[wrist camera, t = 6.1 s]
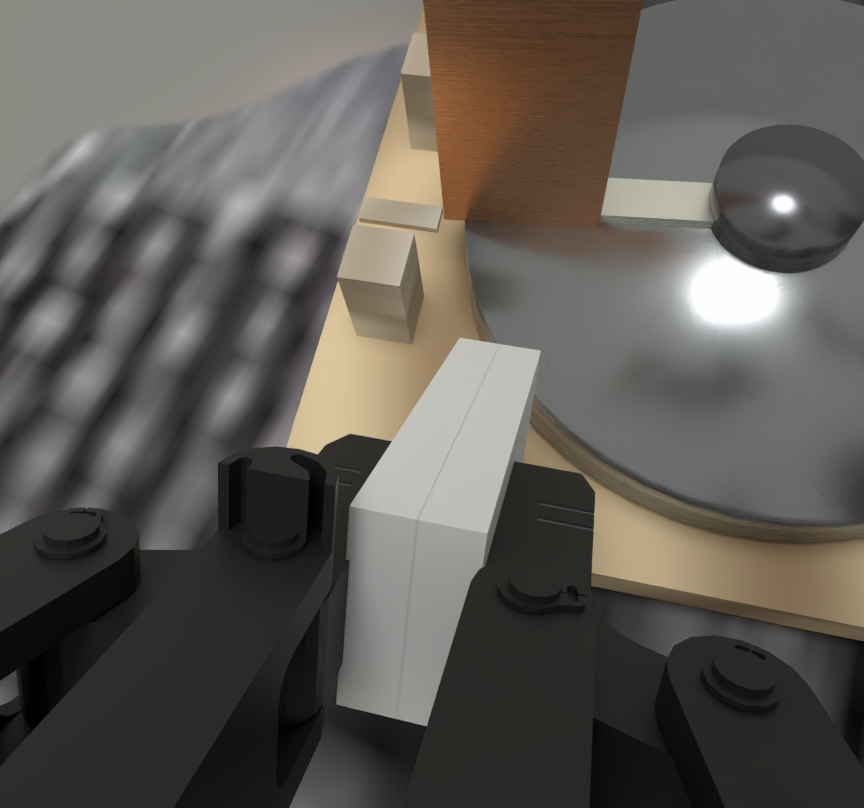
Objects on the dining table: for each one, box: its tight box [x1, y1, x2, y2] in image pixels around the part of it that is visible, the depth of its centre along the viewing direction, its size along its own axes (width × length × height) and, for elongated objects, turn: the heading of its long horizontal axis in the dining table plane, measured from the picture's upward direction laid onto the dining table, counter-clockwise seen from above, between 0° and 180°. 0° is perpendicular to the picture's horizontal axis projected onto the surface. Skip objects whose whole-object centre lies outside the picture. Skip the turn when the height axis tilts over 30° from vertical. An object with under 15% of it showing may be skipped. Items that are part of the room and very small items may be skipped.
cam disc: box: [423, 0, 864, 542], centre depth 17 cm, size 16×16×10 cm
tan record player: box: [286, 7, 864, 641], centre depth 21 cm, size 25×19×4 cm
